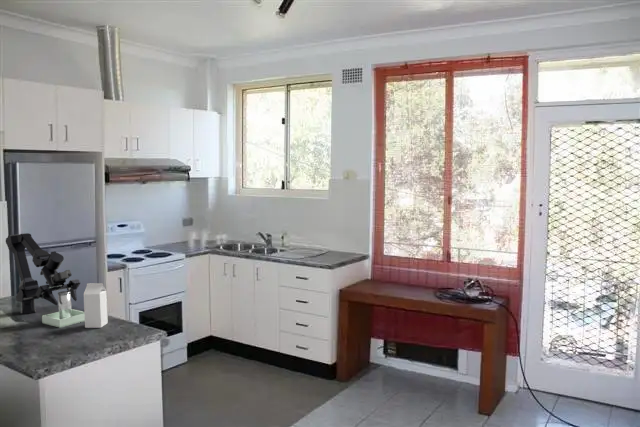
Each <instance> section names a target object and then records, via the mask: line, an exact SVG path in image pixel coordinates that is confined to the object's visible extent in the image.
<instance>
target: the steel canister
mask: <svg viewBox="0 0 640 427" xmlns="http://www.w3.org/2000/svg"><path fill="white" fill-rule="evenodd" d="M57 298H58V300H57V303H58V304H57V305H58V312H59V319H64V318H68V317H72V309H73V308H72V297H71V291H68V290H63V291H62V290H61V291H58V292H57Z"/></svg>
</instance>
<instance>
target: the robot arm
mask: <svg viewBox="0 0 640 427" xmlns="http://www.w3.org/2000/svg"><path fill="white" fill-rule="evenodd" d="M5 244H6V246H7V248H8V250H9V251H10V252H12V254H13V256H14V260H15V265H16V267H17V272H18V276H19V280H20V283H19V285H18V292H17V294H16V296H15V299H16V302H20V304H21V310H20V315H25V314H26V315H27V314H35V313H37V309H36V306H35V305H36V303H35V300H38V299H42V300H43V299H44V300H46V301H48V302H50V303H52V304H53V305H55V306H58V305H59V304H58V300H57V299H56V297H55V295H54V293H53V292H54V291H55V292H57V291H62V290H66V291H71V299H73V301H74V302H77V300H78V298H77V297H78V295H77V290H78V288H79V287H80V285H81V281H80V279H78V278H75V279H71V280H69V282H68V283H66V282H67V280H68V279H69V278H70V277H72V274H73V273H72V272H71V270H70V269H66V270H64V271H60V272H58V269H60V267H61V265H62V263H63V262H64V255H63V254H61V253H60V252H59V253H58V252H57V251H50V253H49V251H47V250H44V249H42V248H41V246H39V244H38V243H37V242H36V241H35V239H33V237H32V233H30V232H29V233H28V232H26V233H25V232H23V233H17V234H10V235H8V236H7V237H6V238H5ZM25 250H27V252H28V253H29V254H30V256H31V257H32V263H33V264H34V266H35V267H36V268H41V271H39V272H40V276H43V277H44V279H45V280H46V281H45V284H43V285H40V286H39V282H38V280H37V279H33V277H32V272H31V270H30V266H29V262H28V258H27V254H26V251H25ZM65 283H66V284H65Z"/></svg>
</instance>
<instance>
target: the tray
mask: <svg viewBox="0 0 640 427" xmlns="http://www.w3.org/2000/svg"><path fill="white" fill-rule="evenodd" d="M71 309H72V317H68V318H64V319H59V311H56V312H52V313H48V314H43V315H42V316H41V322H42V324H44V325H49V326H53V327H56V328H59V329H61V328H64V327H68V326H71V325H76V324H80V322H81V323H85V314H84V311H82V310H79V309H73V308H71Z"/></svg>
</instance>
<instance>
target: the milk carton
mask: <svg viewBox="0 0 640 427" xmlns="http://www.w3.org/2000/svg"><path fill="white" fill-rule="evenodd" d="M107 295H108V294H107V289H106V287H105V286H104V283H92V282H91V283H90V282H89V283H86V287H85V290H84V292H83V310H84V311H83V312H84V314H85V321H84V328H86V329H93V328H95V329H96V328H97V329H98V328H99V329H100V328H103V327H104V326H106V325H107V324H108V323H109V322H108V318H109V317H108V300H107V298H108V297H107Z"/></svg>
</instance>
